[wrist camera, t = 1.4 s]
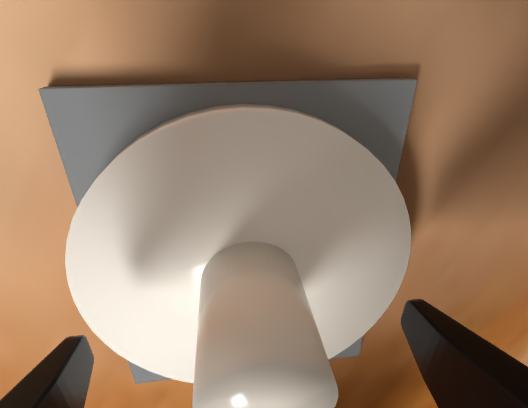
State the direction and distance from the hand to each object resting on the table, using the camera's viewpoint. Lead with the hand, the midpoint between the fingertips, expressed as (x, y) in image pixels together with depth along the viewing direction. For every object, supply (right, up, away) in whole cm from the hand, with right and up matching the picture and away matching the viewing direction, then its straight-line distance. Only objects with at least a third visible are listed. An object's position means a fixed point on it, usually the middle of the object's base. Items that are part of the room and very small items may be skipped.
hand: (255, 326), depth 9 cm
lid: (0, +1, +2) cm, 3 cm away
